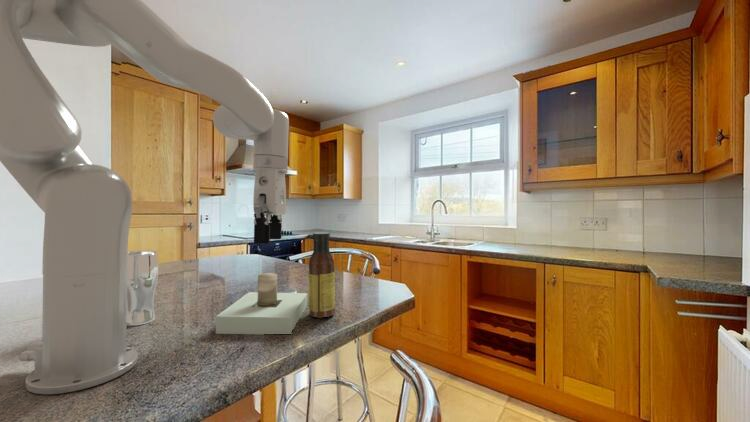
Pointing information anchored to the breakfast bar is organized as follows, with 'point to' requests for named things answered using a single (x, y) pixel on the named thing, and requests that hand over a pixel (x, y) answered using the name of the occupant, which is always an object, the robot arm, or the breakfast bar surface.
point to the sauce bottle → (321, 278)
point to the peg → (267, 290)
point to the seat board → (262, 315)
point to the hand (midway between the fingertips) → (268, 240)
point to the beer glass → (141, 286)
